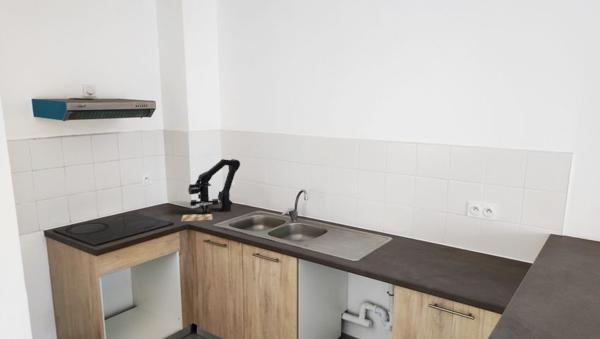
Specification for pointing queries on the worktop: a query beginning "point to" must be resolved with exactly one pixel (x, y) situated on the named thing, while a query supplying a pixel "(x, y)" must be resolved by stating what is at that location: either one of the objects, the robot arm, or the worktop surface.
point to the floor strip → (197, 218)
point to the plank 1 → (189, 216)
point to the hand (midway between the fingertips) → (204, 214)
